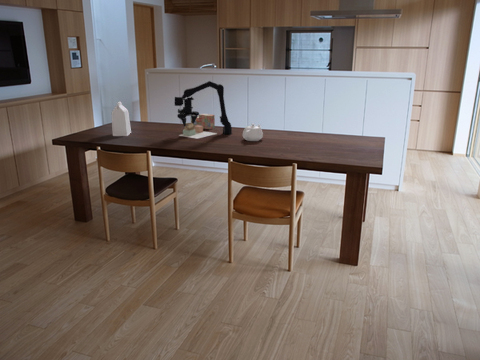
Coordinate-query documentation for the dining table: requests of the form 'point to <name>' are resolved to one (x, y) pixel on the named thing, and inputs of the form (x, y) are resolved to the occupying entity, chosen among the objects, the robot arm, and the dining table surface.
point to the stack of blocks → (205, 121)
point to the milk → (120, 121)
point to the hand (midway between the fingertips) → (188, 125)
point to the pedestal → (189, 132)
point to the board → (199, 135)
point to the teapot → (252, 133)
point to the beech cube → (189, 126)
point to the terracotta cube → (198, 128)
